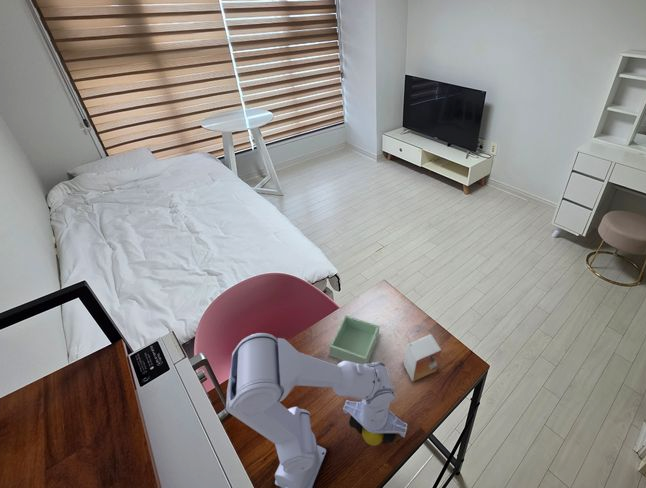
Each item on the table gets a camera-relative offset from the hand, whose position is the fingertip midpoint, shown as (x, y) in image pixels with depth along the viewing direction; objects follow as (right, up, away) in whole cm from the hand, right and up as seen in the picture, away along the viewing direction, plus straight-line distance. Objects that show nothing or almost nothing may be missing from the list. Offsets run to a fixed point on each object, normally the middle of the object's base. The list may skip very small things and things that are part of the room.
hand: (373, 434), depth 78 cm
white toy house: (+13, +7, +16) cm, 22 cm away
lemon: (0, -2, +1) cm, 2 cm away
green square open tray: (-6, +12, +21) cm, 25 cm away
